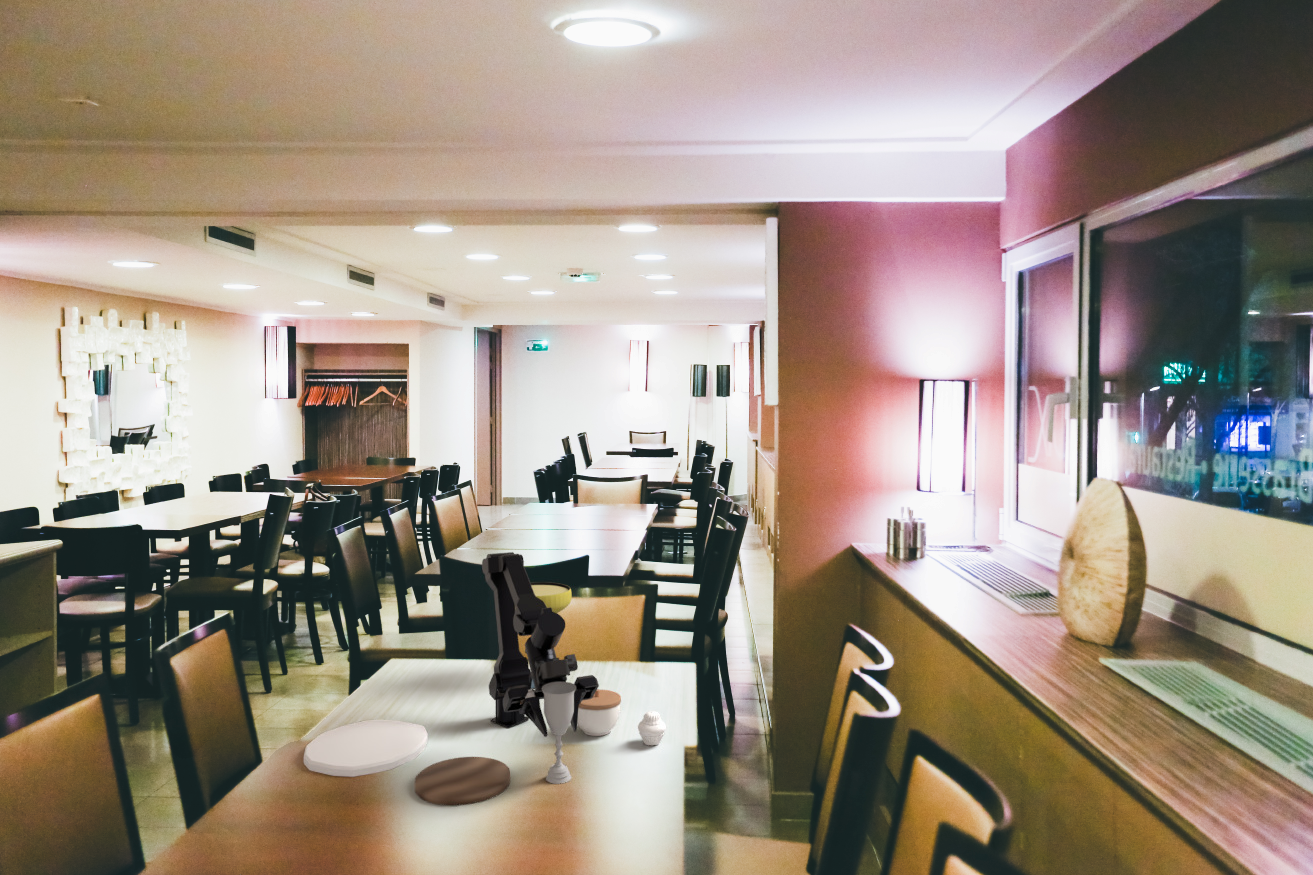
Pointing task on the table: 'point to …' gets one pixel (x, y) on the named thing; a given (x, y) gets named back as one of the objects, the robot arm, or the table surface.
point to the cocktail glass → (552, 597)
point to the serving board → (462, 781)
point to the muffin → (651, 728)
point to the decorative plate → (365, 747)
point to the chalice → (558, 723)
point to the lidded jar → (599, 713)
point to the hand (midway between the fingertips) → (560, 733)
